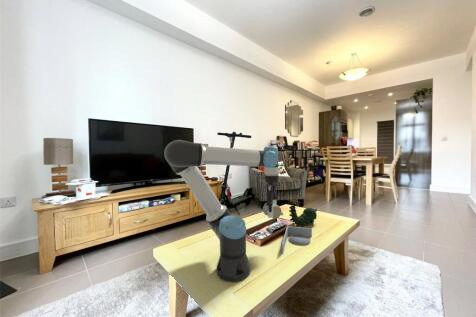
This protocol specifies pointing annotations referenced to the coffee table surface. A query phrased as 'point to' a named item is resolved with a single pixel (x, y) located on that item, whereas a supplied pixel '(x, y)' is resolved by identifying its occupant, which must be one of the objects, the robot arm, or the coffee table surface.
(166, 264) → the coffee table surface
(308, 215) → the toy figurine
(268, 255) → the coffee table surface
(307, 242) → the slate coaster
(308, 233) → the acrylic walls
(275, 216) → the ceramic mug
